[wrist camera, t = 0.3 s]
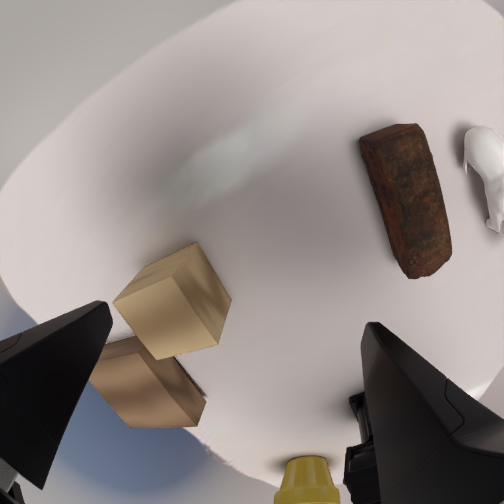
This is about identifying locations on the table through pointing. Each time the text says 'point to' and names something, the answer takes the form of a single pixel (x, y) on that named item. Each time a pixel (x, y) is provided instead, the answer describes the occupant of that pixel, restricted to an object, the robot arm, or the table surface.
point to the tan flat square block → (146, 387)
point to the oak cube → (176, 304)
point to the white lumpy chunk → (488, 169)
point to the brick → (409, 197)
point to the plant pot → (307, 483)
